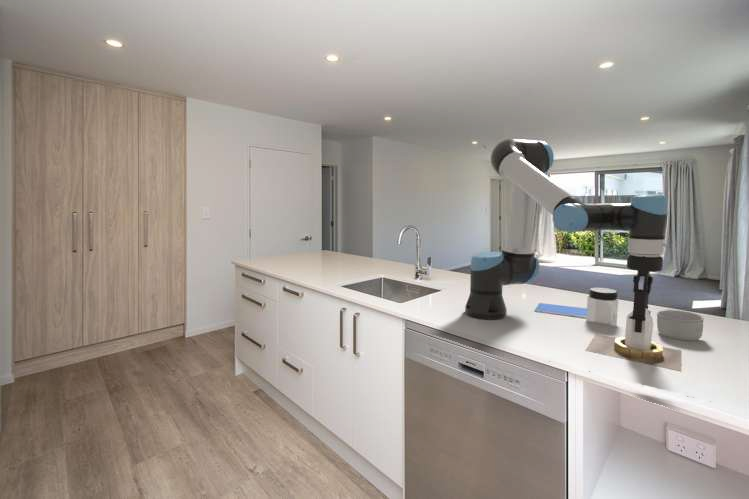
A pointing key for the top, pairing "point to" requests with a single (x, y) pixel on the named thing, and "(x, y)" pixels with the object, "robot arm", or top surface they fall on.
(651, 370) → the top surface
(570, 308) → the tablet computer
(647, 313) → the white tall rounded piece
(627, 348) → the collar
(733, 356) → the top surface
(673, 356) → the walnut board
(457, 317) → the top surface
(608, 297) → the jar
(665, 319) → the teacup
